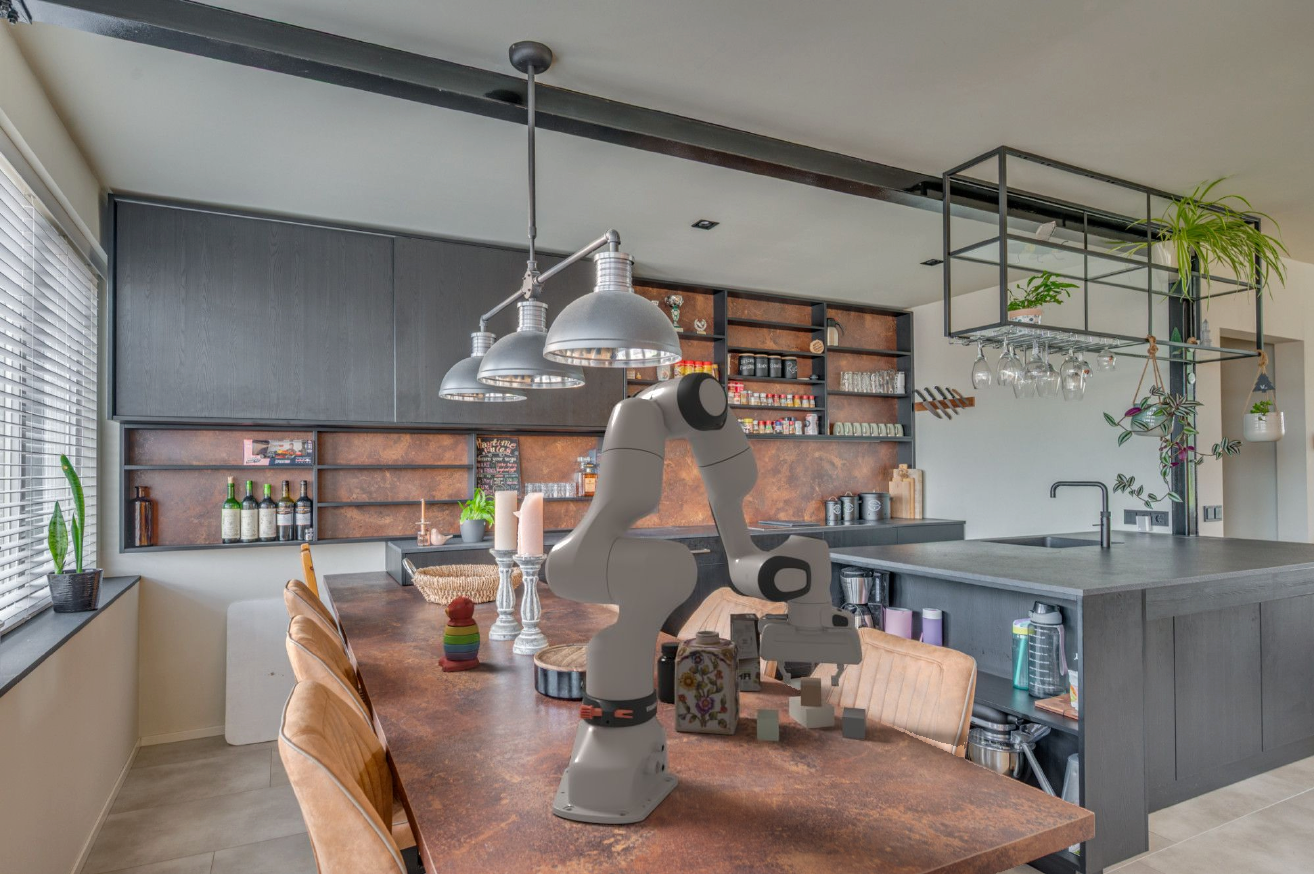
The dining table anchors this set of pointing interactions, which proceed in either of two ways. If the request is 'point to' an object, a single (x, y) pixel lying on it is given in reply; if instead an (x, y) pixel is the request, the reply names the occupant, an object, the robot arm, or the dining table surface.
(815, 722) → the cream block
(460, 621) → the stacking bear
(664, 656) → the supplement bottle
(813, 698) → the walnut brick
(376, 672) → the dining table surface
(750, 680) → the coffee box
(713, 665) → the decorative jar
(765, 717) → the sage brick
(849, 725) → the grey brick
